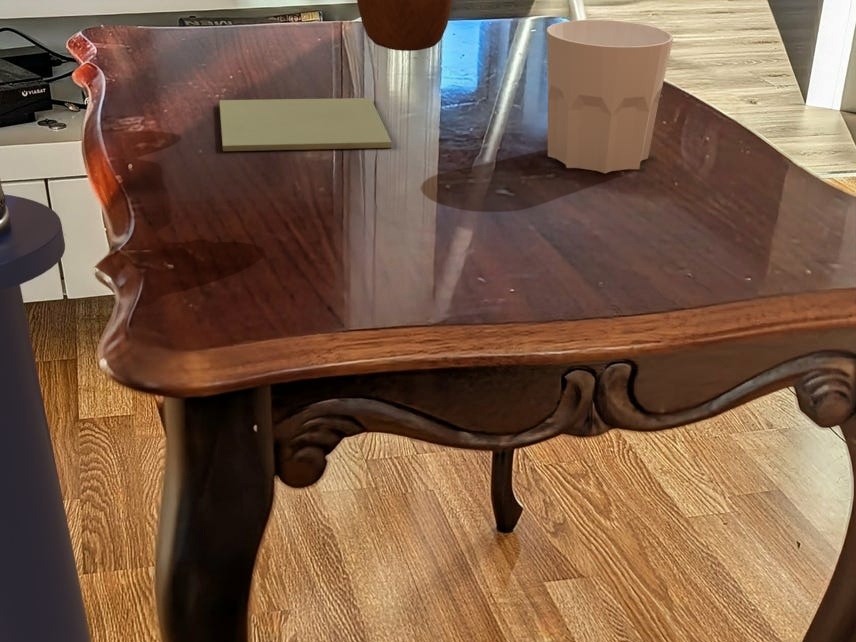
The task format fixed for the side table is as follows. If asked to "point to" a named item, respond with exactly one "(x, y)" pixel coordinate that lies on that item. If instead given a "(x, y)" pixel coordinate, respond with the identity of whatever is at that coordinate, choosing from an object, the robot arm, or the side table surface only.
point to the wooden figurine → (405, 22)
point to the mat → (301, 124)
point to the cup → (604, 91)
